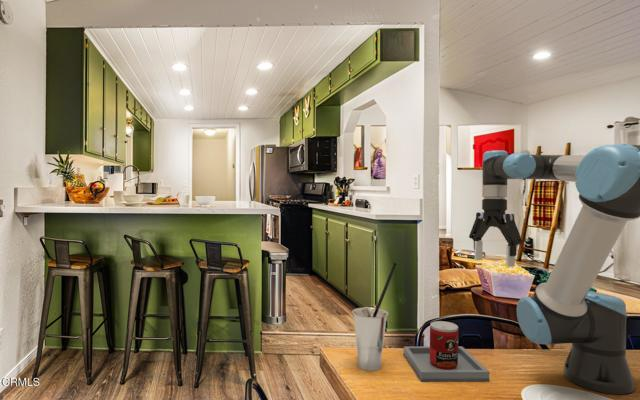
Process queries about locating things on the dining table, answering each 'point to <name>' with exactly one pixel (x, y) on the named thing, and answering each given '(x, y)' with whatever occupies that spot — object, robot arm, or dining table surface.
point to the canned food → (444, 345)
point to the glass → (371, 332)
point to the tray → (464, 371)
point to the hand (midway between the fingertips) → (493, 263)
